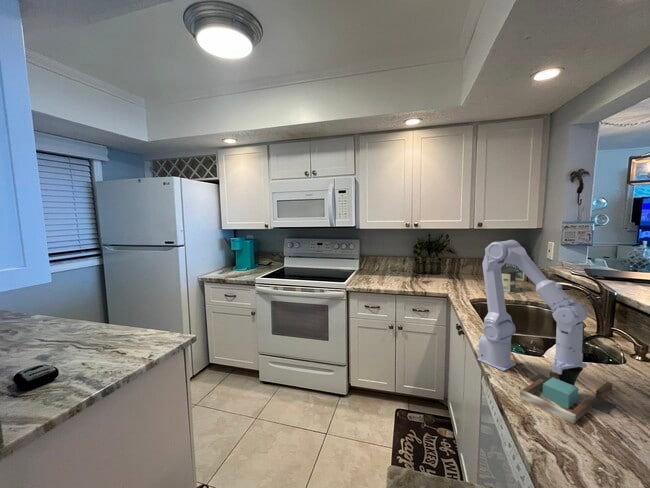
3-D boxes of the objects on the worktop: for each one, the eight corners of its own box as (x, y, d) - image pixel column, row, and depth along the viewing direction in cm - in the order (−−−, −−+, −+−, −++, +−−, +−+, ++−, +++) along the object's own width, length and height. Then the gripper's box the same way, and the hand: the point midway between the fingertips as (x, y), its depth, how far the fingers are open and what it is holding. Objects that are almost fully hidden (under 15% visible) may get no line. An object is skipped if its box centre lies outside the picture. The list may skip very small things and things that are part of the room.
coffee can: (511, 289, 192) (511, 269, 191) (518, 293, 182) (518, 272, 181) (494, 289, 194) (495, 269, 193) (500, 293, 184) (501, 272, 183)
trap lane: (509, 392, 84) (509, 385, 84) (550, 366, 97) (550, 361, 96) (589, 431, 68) (589, 424, 68) (626, 395, 81) (626, 388, 80)
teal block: (542, 396, 82) (542, 383, 81) (552, 389, 84) (552, 377, 84) (568, 408, 76) (568, 394, 76) (577, 400, 79) (578, 387, 79)
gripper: (575, 357, 74) (573, 405, 75) (597, 343, 81) (595, 387, 82) (544, 347, 80) (542, 391, 82) (566, 334, 87) (565, 376, 89)
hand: (566, 389), depth 82 cm, fingers closed
